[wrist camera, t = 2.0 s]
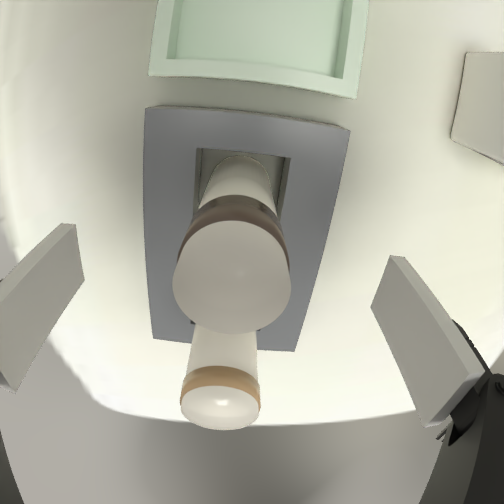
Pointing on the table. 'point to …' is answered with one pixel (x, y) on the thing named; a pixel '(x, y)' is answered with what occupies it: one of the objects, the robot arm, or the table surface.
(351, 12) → the parts tray
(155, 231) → the fuse block
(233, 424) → the cylinder
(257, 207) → the fuse
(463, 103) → the container
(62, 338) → the table surface
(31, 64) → the table surface
